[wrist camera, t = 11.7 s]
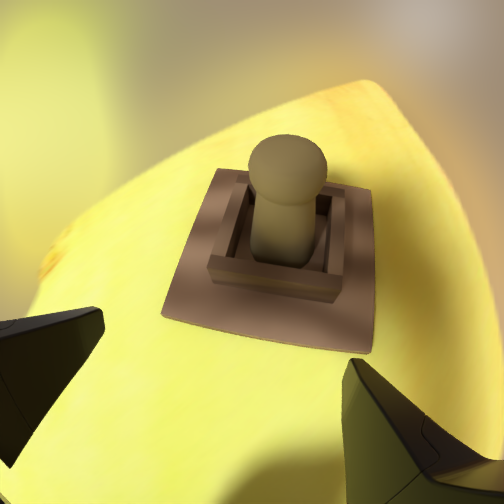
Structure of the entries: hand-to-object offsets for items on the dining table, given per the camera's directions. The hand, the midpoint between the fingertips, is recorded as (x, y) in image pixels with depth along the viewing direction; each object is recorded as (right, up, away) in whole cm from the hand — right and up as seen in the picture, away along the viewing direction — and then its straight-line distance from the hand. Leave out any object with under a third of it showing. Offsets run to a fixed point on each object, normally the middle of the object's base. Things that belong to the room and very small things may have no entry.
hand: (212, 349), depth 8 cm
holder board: (+4, +4, +18) cm, 18 cm away
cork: (+4, +4, +17) cm, 18 cm away
